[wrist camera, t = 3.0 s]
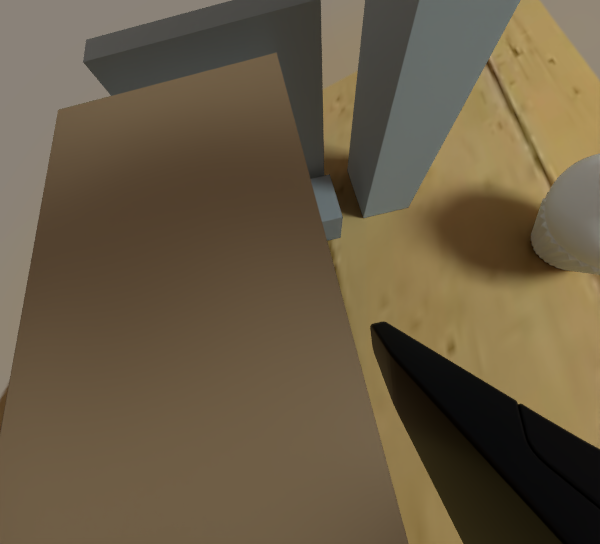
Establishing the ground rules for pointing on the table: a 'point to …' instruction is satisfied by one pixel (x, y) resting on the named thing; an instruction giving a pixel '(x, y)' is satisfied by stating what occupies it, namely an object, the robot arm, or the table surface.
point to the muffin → (571, 219)
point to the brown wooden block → (188, 335)
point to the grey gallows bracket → (308, 78)
